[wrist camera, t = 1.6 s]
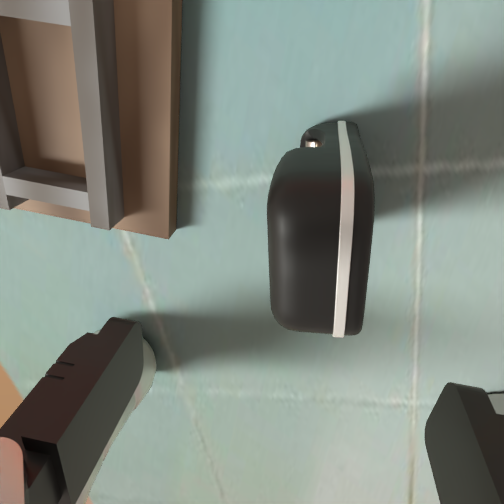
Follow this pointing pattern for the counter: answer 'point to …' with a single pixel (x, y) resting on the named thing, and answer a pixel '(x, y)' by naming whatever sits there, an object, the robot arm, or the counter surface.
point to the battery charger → (321, 232)
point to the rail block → (91, 111)
